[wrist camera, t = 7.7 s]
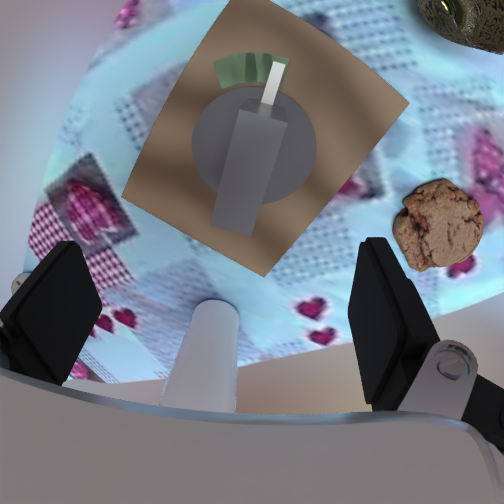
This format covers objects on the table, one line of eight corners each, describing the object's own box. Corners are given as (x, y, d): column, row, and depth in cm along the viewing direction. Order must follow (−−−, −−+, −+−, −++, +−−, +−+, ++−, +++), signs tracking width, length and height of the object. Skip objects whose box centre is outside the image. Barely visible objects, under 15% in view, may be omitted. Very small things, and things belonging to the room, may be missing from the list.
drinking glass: (179, 295, 34) (139, 414, 22) (237, 288, 33) (216, 417, 21) (199, 335, 38) (174, 445, 26) (252, 330, 37) (241, 448, 24)
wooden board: (264, 264, 31) (263, 278, 29) (129, 188, 27) (120, 197, 25) (400, 99, 21) (410, 103, 19) (243, -8, 17) (240, -15, 15)
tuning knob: (292, 212, 25) (297, 263, 19) (184, 183, 24) (156, 225, 19) (340, 83, 19) (366, 92, 13) (216, 48, 18) (191, 41, 13)
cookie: (469, 257, 29) (481, 273, 27) (387, 268, 31) (395, 287, 28) (484, 175, 24) (500, 187, 21) (392, 179, 25) (403, 192, 23)
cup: (382, 21, 17) (425, 8, 11) (405, -43, 13) (448, -70, 7) (456, 65, 18) (513, 75, 12) (476, 4, 14) (532, -1, 8)
